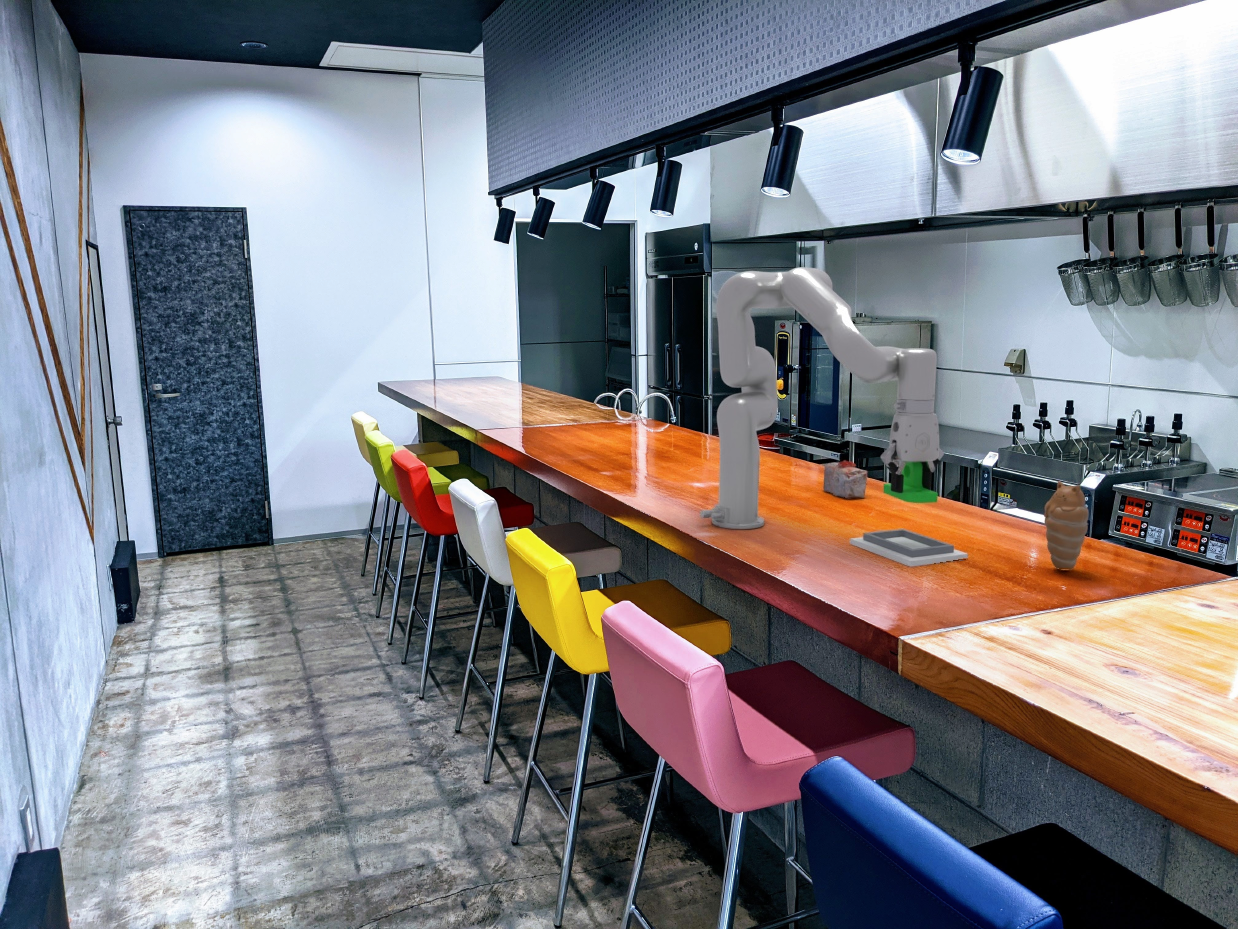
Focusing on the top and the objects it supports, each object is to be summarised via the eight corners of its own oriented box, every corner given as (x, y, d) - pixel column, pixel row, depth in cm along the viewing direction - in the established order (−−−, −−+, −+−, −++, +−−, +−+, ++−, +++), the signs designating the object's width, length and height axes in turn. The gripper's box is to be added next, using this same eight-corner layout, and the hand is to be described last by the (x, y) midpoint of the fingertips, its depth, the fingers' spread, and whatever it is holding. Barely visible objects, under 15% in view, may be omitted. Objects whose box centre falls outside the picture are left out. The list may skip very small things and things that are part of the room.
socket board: (910, 566, 189) (911, 553, 189) (849, 543, 208) (850, 531, 207) (967, 559, 195) (968, 546, 195) (903, 537, 213) (904, 526, 213)
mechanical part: (883, 492, 205) (884, 456, 204) (908, 491, 206) (909, 455, 205) (910, 503, 193) (912, 465, 192) (937, 502, 194) (939, 464, 193)
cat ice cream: (1030, 567, 190) (1038, 480, 187) (1060, 563, 192) (1068, 477, 189) (1065, 578, 181) (1073, 488, 178) (1095, 575, 184) (1104, 485, 181)
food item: (870, 499, 256) (872, 463, 254) (846, 501, 253) (847, 465, 251) (841, 490, 269) (843, 456, 267) (818, 491, 266) (819, 457, 264)
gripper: (893, 411, 189) (889, 497, 192) (960, 407, 196) (955, 490, 199) (870, 407, 196) (866, 490, 199) (935, 404, 203) (930, 484, 206)
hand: (910, 490), depth 199 cm, fingers closed on mechanical part, 6 cm apart
